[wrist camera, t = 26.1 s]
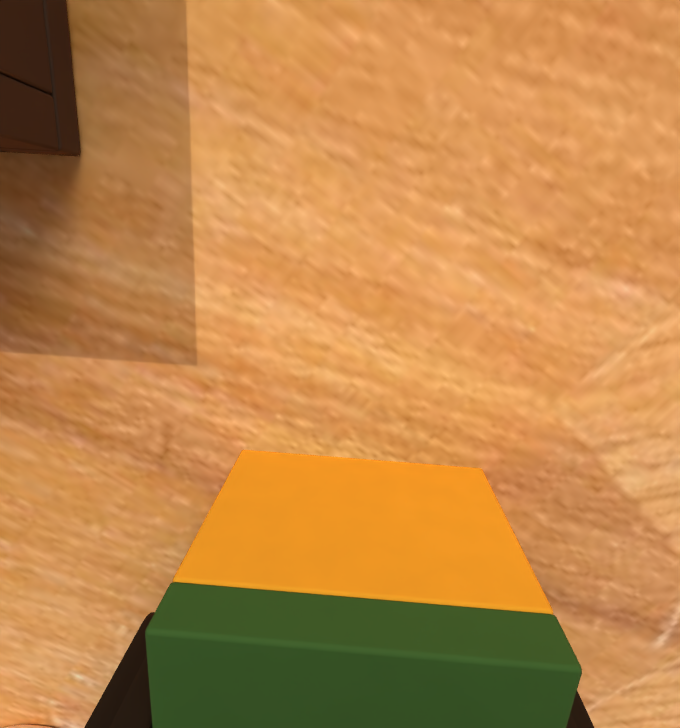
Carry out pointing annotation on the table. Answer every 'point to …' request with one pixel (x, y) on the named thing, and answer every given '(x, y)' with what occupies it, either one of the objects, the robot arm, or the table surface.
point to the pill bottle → (27, 726)
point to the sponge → (356, 606)
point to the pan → (36, 79)
